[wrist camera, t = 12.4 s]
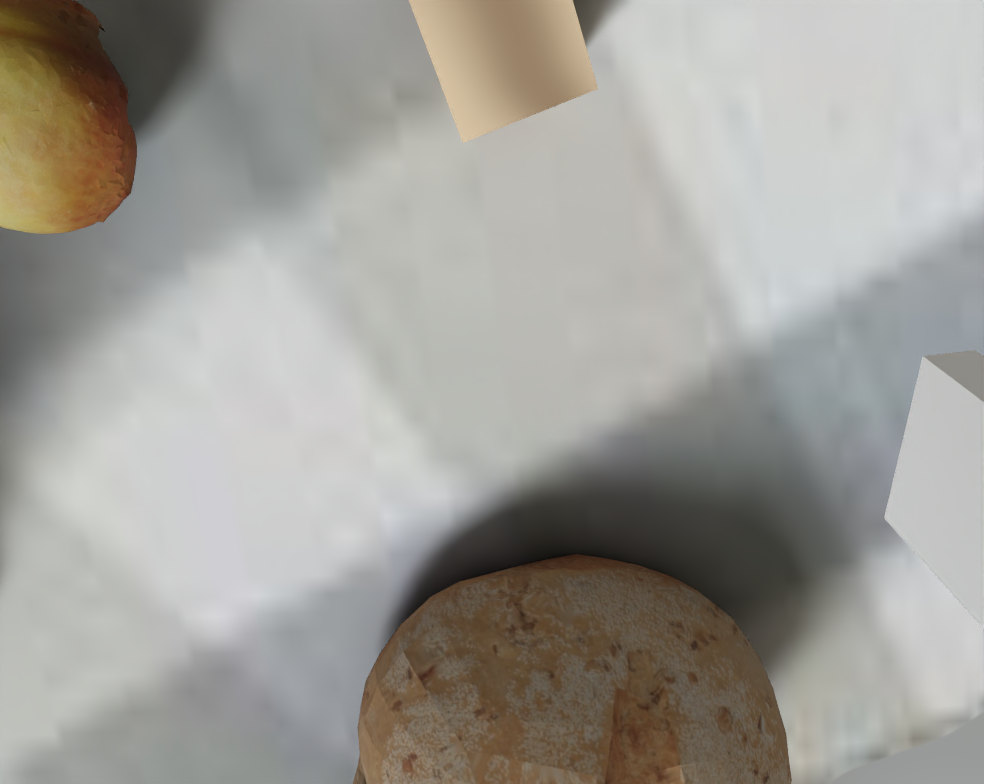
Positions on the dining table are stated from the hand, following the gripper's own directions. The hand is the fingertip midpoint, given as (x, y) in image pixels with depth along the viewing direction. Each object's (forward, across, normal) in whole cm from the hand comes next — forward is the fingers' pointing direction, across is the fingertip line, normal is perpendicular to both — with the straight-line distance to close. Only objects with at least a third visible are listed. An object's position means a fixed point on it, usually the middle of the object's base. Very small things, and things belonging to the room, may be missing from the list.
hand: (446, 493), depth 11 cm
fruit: (+26, -12, +2) cm, 29 cm away
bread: (+26, +6, -36) cm, 45 cm away
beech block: (+26, +4, +3) cm, 26 cm away
